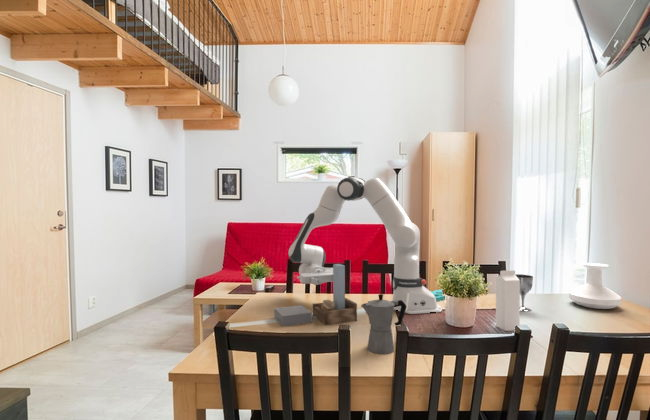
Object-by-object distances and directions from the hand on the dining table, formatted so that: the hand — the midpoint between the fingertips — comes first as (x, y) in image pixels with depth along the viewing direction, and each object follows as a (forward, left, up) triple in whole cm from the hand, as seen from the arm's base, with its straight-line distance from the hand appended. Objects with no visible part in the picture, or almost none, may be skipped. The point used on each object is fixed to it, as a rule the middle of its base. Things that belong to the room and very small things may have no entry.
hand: (327, 280), depth 168 cm
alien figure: (-61, -23, -14) cm, 66 cm away
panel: (-5, +11, -13) cm, 18 cm away
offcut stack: (0, +13, -13) cm, 19 cm away
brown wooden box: (-3, +12, -13) cm, 18 cm away
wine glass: (-88, -2, -13) cm, 89 cm away
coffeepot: (-19, +45, -14) cm, 51 cm away
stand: (+14, +15, -13) cm, 24 cm away
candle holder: (-124, -8, -14) cm, 125 cm away
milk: (-69, +24, -13) cm, 74 cm away
